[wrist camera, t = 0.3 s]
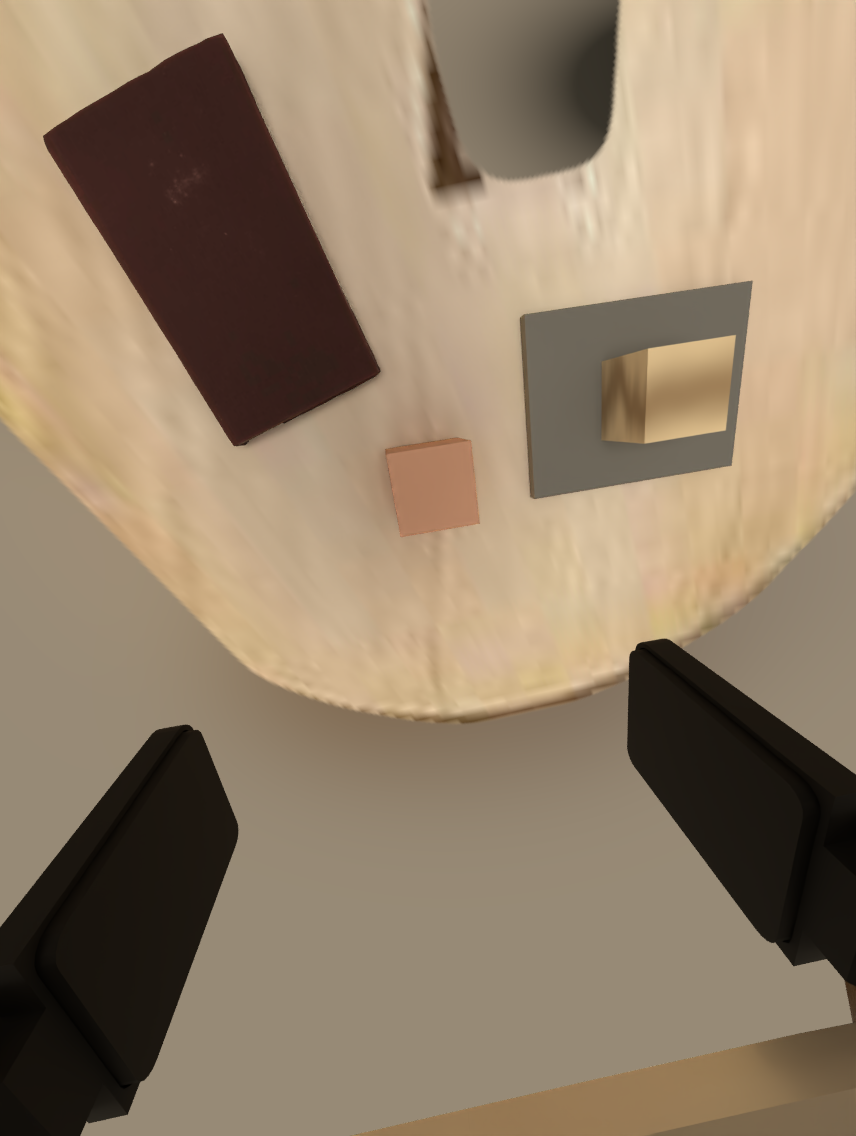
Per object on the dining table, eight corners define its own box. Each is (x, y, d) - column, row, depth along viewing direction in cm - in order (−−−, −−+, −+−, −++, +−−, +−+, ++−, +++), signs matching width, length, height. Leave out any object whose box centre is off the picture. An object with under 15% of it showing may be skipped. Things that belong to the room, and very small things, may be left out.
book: (244, 446, 33) (230, 448, 30) (69, 163, 26) (28, 128, 23) (382, 376, 32) (382, 371, 29) (240, 66, 25) (221, 18, 22)
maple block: (601, 361, 32) (648, 348, 26) (674, 350, 32) (735, 335, 27) (601, 440, 34) (644, 443, 28) (669, 429, 34) (725, 430, 29)
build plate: (520, 317, 31) (524, 314, 30) (741, 284, 32) (752, 280, 31) (530, 496, 36) (534, 498, 35) (722, 464, 37) (731, 465, 36)
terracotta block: (385, 449, 34) (385, 454, 28) (456, 437, 34) (470, 440, 28) (398, 519, 36) (400, 537, 30) (464, 507, 36) (479, 523, 30)
